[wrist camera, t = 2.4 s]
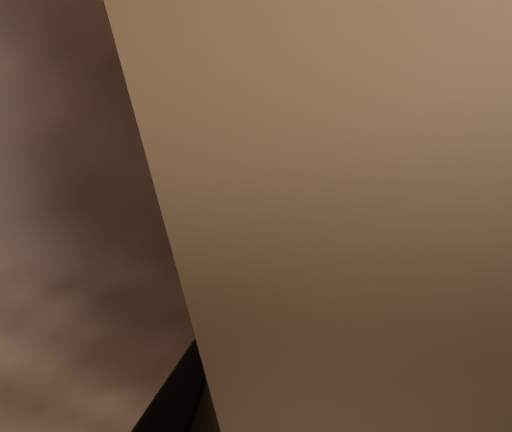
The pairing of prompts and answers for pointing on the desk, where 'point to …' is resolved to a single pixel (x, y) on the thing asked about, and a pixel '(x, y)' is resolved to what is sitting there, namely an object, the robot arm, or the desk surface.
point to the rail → (335, 203)
